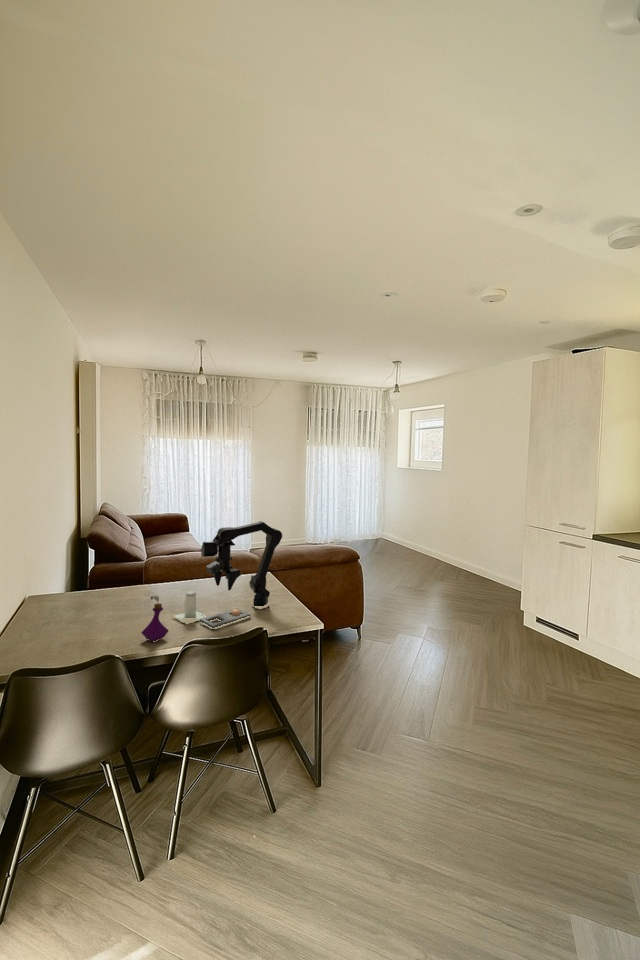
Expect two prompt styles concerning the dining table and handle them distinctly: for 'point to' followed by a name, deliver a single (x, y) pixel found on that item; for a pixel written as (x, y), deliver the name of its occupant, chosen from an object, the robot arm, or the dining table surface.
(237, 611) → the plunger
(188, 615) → the cylinder
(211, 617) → the dark grey base plate
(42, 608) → the dining table surface
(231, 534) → the robot arm
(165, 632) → the perfume bottle
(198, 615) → the sage pad
